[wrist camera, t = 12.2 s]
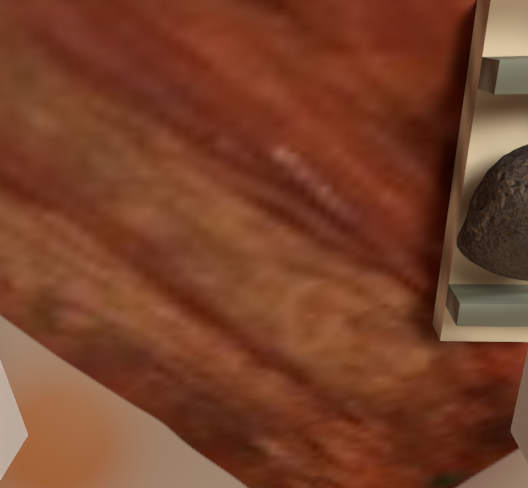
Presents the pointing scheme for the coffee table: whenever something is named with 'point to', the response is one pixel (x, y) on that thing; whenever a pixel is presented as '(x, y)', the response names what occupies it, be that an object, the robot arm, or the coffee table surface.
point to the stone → (499, 219)
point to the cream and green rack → (474, 169)
